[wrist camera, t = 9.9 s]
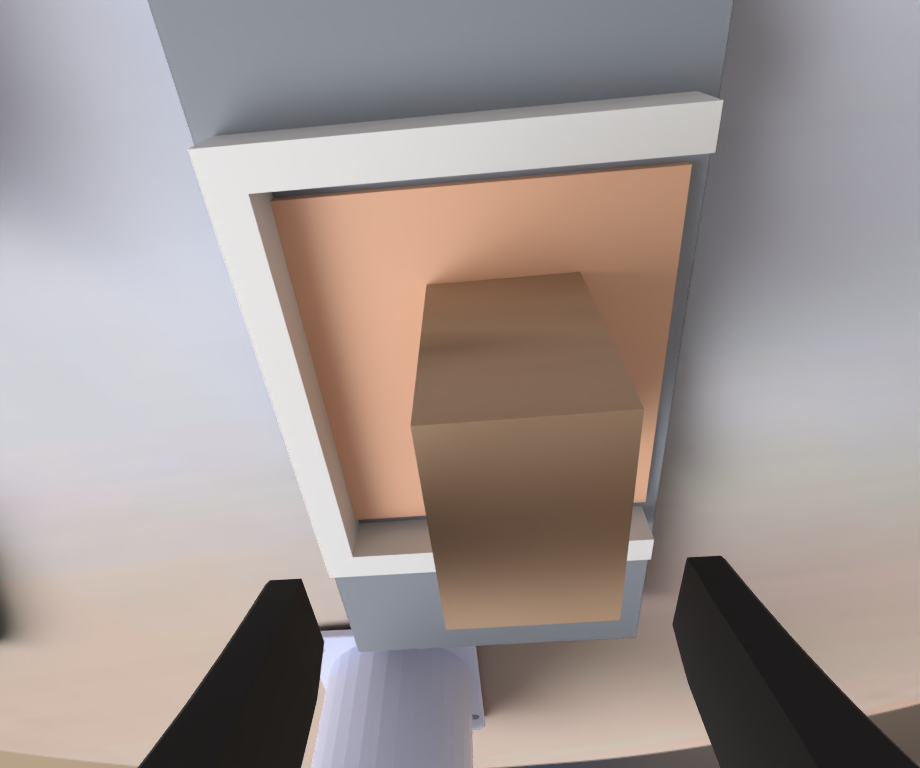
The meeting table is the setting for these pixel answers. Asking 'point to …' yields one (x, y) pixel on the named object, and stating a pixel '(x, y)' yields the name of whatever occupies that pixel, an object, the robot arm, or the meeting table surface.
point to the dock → (442, 229)
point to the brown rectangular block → (524, 452)
